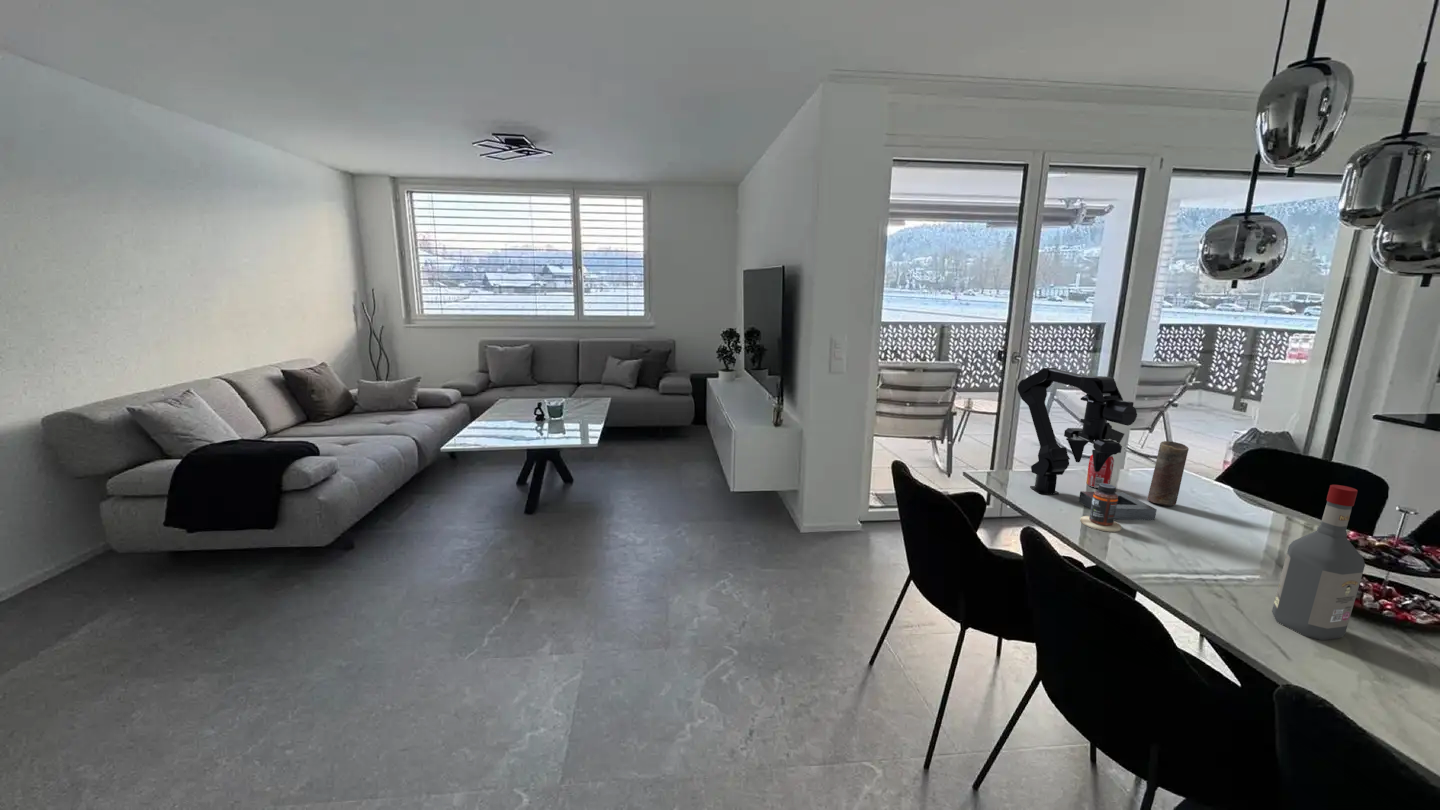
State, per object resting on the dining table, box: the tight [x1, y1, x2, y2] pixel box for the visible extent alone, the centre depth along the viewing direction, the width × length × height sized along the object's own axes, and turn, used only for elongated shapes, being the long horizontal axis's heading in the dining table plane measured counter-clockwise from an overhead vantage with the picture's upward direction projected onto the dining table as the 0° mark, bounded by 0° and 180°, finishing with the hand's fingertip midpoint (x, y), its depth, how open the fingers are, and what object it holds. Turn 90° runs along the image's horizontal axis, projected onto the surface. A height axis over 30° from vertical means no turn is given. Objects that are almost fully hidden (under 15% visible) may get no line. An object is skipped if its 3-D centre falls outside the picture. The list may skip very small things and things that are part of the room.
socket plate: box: [1078, 491, 1157, 521], centre depth 176 cm, size 14×14×4 cm
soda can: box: [1085, 454, 1115, 490], centre depth 197 cm, size 7×7×12 cm
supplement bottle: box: [1089, 483, 1118, 526], centre depth 164 cm, size 6×6×11 cm
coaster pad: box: [1079, 515, 1123, 533], centre depth 165 cm, size 10×10×1 cm
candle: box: [1146, 440, 1189, 507], centre depth 181 cm, size 8×7×20 cm
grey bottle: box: [1271, 484, 1366, 641], centre depth 114 cm, size 9×9×30 cm
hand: (1087, 466), depth 176 cm, fingers open, 9 cm apart
